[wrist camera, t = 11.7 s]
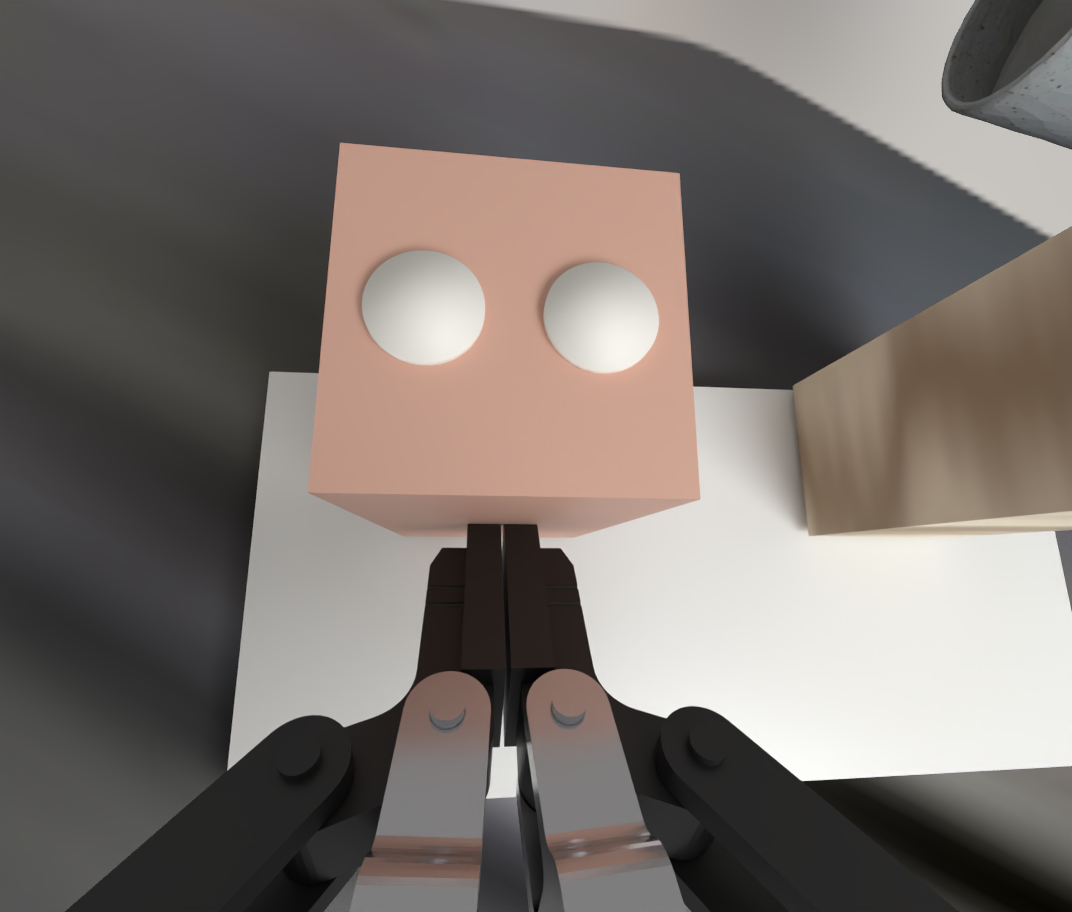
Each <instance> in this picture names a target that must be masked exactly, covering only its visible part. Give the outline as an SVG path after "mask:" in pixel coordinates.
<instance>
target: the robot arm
mask: <svg viewBox="0 0 1072 912" xmlns="http://www.w3.org/2000/svg"><path fill="white" fill-rule="evenodd" d="M502 714H503V724H504V747H513V746H516V747H517V768H518V776H517V785H516V797H517V806H518V815H519V824H520V833H521V842H522V850H523V859H524V868H525V877H526V886H527V894H528V903H529V912H686V909H685V905H686V906H687V907H688V908H689V909H690V910H691V911H692V912H959V911H957V910H956V909H955V908H954V907H953V906H951V905H950V904H949V903H948V902H947V901H945V900H944V899H943V898H942V897H941V896H939V895H938V894H937V893H936V892H935V891H933V890H932V889H931V888H930V887H928V886H927V885H926V884H925V883H924V882H922V881H921V880H920V879H919V878H918V877H916V876H915V875H914V874H913V873H912V872H910V871H909V870H908V869H907V868H906V867H904V866H903V865H902V864H901V863H900V862H898V861H897V860H896V859H895V858H894V857H892V856H891V855H890V854H889V853H888V852H886V851H885V850H884V849H883V848H882V847H880V846H879V845H878V844H877V843H875V842H874V841H873V840H872V839H871V838H869V837H868V836H867V835H866V834H865V833H863V832H862V831H861V830H860V829H859V828H857V827H856V826H855V825H854V824H853V823H851V822H850V821H849V820H848V819H847V818H845V817H844V816H843V815H842V814H841V813H839V812H838V811H837V810H836V809H835V808H833V807H832V806H831V805H830V804H829V803H827V802H826V801H825V800H824V799H822V798H821V797H820V796H819V795H818V794H816V793H815V792H814V791H813V790H812V789H810V788H809V787H808V786H807V785H806V784H804V783H803V782H802V781H801V780H800V779H798V778H797V777H796V776H795V775H794V774H792V773H791V772H790V771H789V770H788V769H786V768H785V767H784V766H783V765H782V764H780V763H779V762H778V761H777V760H776V759H774V758H773V757H772V756H771V755H769V754H768V753H767V752H766V751H765V750H763V749H762V748H761V747H760V746H759V745H757V744H756V743H755V742H754V741H753V740H751V739H750V738H749V737H748V736H747V735H745V734H744V733H743V732H742V731H741V730H739V729H738V728H737V727H736V726H735V725H733V724H732V723H731V722H730V721H729V720H727V719H726V718H724V717H723V716H722V715H720V714H718V713H716V712H715V711H712V710H710V709H707V708H703V707H698V706H687V707H682V708H679V709H677V710H675V711H673V712H672V713H671V714H670V715H669V716H668V717H667V718H663V717H660V716H657V715H653V714H650V713H647V712H643V711H640V710H637V709H634V708H631V707H628V706H626V705H624V704H622V703H620V702H619V701H618V700H616V699H615V698H613V697H612V696H611V695H610V694H609V693H608V692H607V691H606V690H605V689H604V688H603V686H602V685H601V683H600V682H599V680H598V678H597V676H596V674H595V671H594V667H593V662H592V657H591V652H590V647H589V642H588V637H587V632H586V626H585V621H584V616H583V611H582V606H581V601H580V596H579V591H578V589H577V580H576V575H575V570H574V565H573V564H572V563H571V561H570V560H569V559H568V557H567V556H566V555H565V553H564V552H563V551H562V549H561V548H540V541H539V533H538V527H537V525H530V524H504V527H503V541H502V540H501V524H468V526H467V548H442V549H441V550H440V551H439V553H438V554H437V556H436V557H435V559H434V560H433V562H432V563H431V564H430V569H429V577H428V585H427V593H426V601H425V609H424V617H423V625H422V633H421V641H420V649H419V657H418V665H417V672H416V677H415V680H414V682H413V685H412V686H411V688H410V690H409V691H408V693H407V694H406V695H405V697H404V698H403V699H402V700H401V701H400V702H399V703H398V704H396V705H395V706H394V707H392V708H391V709H390V710H388V711H386V712H384V713H383V714H380V715H378V716H375V717H373V718H370V719H367V720H364V721H361V722H358V723H355V724H353V725H350V726H347V727H343V726H342V725H341V724H340V723H339V722H337V721H336V720H334V719H332V718H329V717H326V716H321V715H309V716H303V717H299V718H296V719H293V720H291V721H289V722H286V723H285V724H283V725H281V726H280V727H278V728H277V729H275V730H274V731H273V732H271V733H270V734H269V735H268V736H267V737H266V738H264V739H263V740H262V741H261V742H260V743H259V744H258V745H256V746H255V747H254V748H253V749H252V750H251V751H249V752H248V753H247V754H246V755H245V756H244V757H243V758H241V759H240V760H239V761H238V762H237V763H236V764H235V765H233V766H232V767H231V768H230V769H229V770H228V771H226V772H225V773H224V774H223V775H222V776H221V777H220V778H218V779H217V780H216V781H215V782H214V783H213V784H211V785H210V786H209V787H208V788H207V789H206V790H205V791H203V792H202V793H201V794H200V795H199V796H198V797H196V798H195V799H194V800H193V801H192V802H191V803H190V804H188V805H187V806H186V807H185V808H184V809H183V810H181V811H180V812H179V813H178V814H177V815H176V816H175V817H173V818H172V819H171V820H170V821H169V822H168V823H167V824H165V825H164V826H163V827H162V828H161V829H160V830H158V831H157V832H156V833H155V834H154V835H153V836H152V837H150V838H149V839H148V840H147V841H146V842H145V843H143V844H142V845H141V846H140V847H139V848H138V849H137V850H135V851H134V852H133V853H132V854H131V855H130V856H128V857H127V858H126V859H125V860H124V861H123V862H122V863H120V864H119V865H118V866H117V867H116V868H115V869H113V870H112V871H111V872H110V873H109V874H108V875H107V876H105V877H104V878H103V879H102V880H101V881H100V882H99V883H97V884H96V885H95V886H94V887H93V888H92V889H90V890H89V891H88V892H87V893H86V894H85V895H84V896H82V897H81V898H80V899H79V900H78V901H77V902H75V903H74V904H73V905H72V906H71V907H70V908H69V909H67V910H66V911H65V912H323V911H324V910H325V909H326V908H327V907H328V905H329V904H330V903H331V902H332V900H333V899H334V898H335V897H336V895H337V894H338V893H339V892H340V890H341V889H342V888H343V887H344V886H345V884H346V883H347V882H348V881H349V879H350V878H351V877H352V876H353V874H354V873H355V872H356V870H357V869H358V867H359V866H361V865H362V866H361V869H360V872H359V875H358V878H357V882H356V886H355V890H354V894H353V898H352V903H351V907H350V911H349V912H478V902H479V887H480V872H481V858H482V843H483V829H484V814H485V799H486V797H487V794H488V791H489V787H490V779H491V764H492V750H493V747H500V738H501V726H502ZM684 904H685V905H684Z"/></svg>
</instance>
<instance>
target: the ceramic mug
mask: <svg viewBox="0 0 1072 912" xmlns="http://www.w3.org/2000/svg"><path fill="white" fill-rule="evenodd" d="M942 98H943V100H944V102H945V104H946V105H947V106H948V107H949V108H950V109H951V110H952V111H954V112H956V113H959V114H961V115H965V116H968V117H971V118H975V119H978V120H982V121H985V122H988V123H991V124H994V125H997V126H1000V127H1003V128H1006V129H1009V130H1012V131H1015V132H1018V133H1022V134H1026V135H1029V136H1032V137H1036V138H1040V139H1043V140H1046V141H1048V142H1051V143H1054V144H1057V145H1060V146H1063V147H1066V148H1069V149H1072V0H975V2H974V4H973V5H972V7H971V8H970V10H969V12H968V13H967V15H966V17H965V18H964V20H963V23H962V25H961V27H960V29H959V31H958V32H957V35H956V36H955V38H954V41H953V43H952V46H951V48H950V51H949V54H948V57H947V60H946V63H945V67H944V72H943V78H942Z"/></svg>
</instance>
